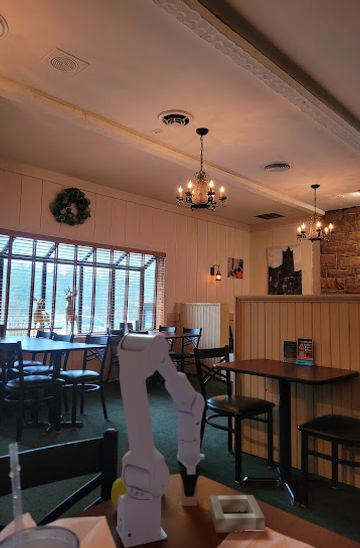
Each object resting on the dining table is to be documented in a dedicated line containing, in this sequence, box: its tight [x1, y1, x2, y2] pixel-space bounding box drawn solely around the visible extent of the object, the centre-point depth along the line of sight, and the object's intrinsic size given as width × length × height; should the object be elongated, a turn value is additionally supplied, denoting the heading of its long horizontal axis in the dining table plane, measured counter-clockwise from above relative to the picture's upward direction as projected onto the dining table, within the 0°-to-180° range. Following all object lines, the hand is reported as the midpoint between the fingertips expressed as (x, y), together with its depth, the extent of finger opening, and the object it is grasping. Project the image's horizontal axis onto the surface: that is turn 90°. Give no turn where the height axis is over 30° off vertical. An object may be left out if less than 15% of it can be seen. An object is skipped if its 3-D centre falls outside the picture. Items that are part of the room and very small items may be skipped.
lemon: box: [110, 476, 128, 509], centre depth 102 cm, size 6×6×8 cm
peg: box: [179, 467, 198, 507], centre depth 106 cm, size 4×4×8 cm
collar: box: [209, 494, 266, 534], centre depth 98 cm, size 11×11×3 cm
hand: (188, 492), depth 106 cm, fingers closed on peg, 4 cm apart
